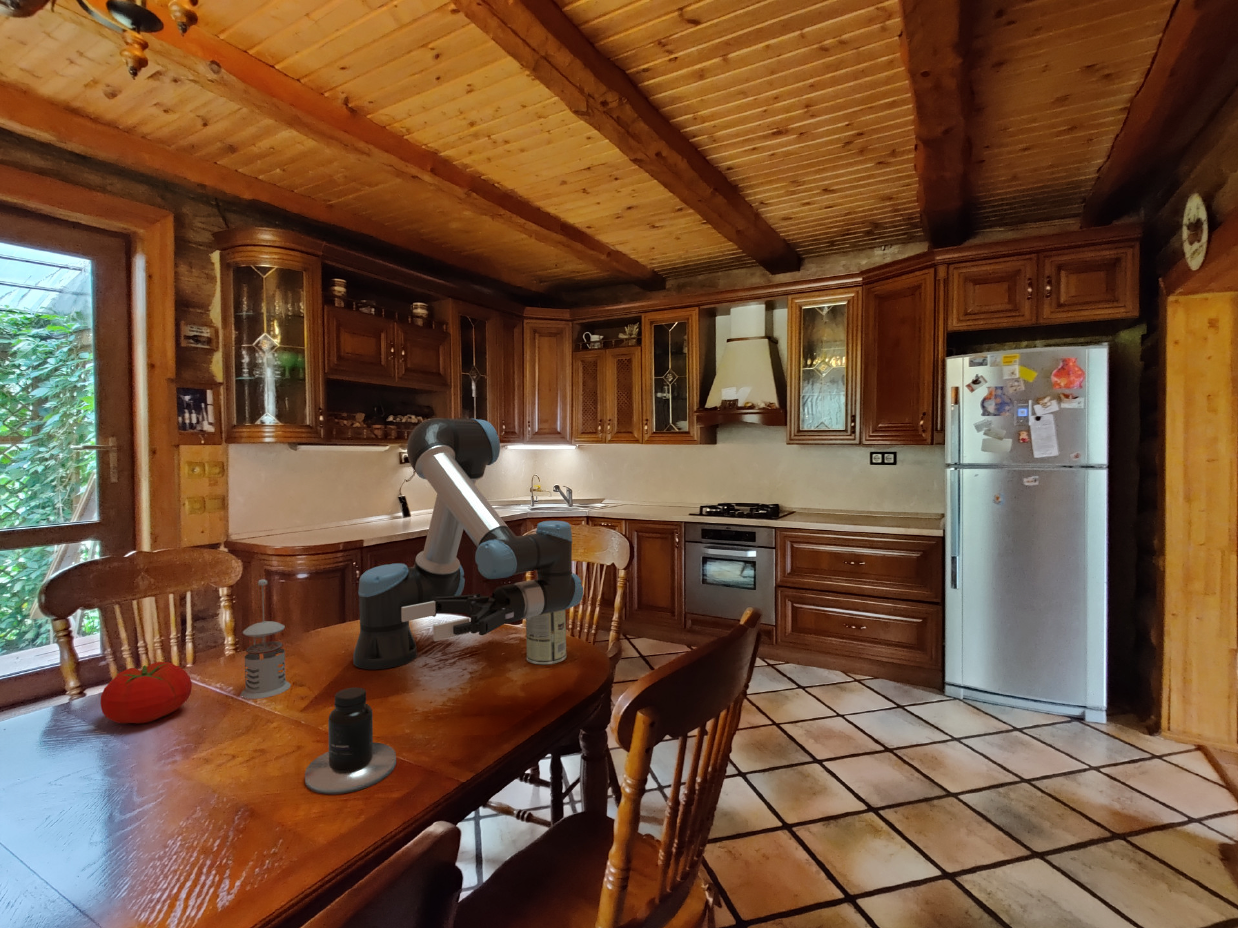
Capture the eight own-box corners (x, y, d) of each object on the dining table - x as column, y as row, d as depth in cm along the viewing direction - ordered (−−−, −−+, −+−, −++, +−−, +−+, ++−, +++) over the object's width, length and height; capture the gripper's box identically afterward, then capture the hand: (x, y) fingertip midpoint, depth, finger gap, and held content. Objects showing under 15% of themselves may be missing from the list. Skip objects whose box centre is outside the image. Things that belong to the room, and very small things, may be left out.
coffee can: (531, 649, 159) (530, 597, 159) (569, 650, 158) (569, 597, 158) (521, 664, 149) (520, 608, 149) (562, 665, 148) (561, 608, 147)
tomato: (173, 694, 133) (171, 650, 133) (204, 713, 124) (202, 666, 123) (89, 719, 121) (86, 671, 121) (116, 742, 112) (113, 690, 111)
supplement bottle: (329, 777, 97) (327, 704, 97) (328, 758, 103) (326, 689, 103) (375, 766, 100) (373, 695, 100) (371, 748, 106) (369, 681, 106)
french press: (244, 702, 128) (240, 586, 127) (235, 686, 137) (231, 577, 136) (295, 689, 135) (292, 579, 134) (283, 675, 144) (280, 571, 143)
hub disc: (294, 769, 102) (294, 762, 102) (377, 740, 111) (377, 734, 111) (320, 805, 92) (320, 797, 92) (409, 770, 101) (409, 763, 101)
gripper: (552, 635, 115) (449, 663, 101) (485, 605, 134) (390, 626, 119) (552, 596, 115) (449, 619, 101) (485, 572, 133) (390, 589, 119)
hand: (417, 623), depth 110 cm, fingers open, 13 cm apart
